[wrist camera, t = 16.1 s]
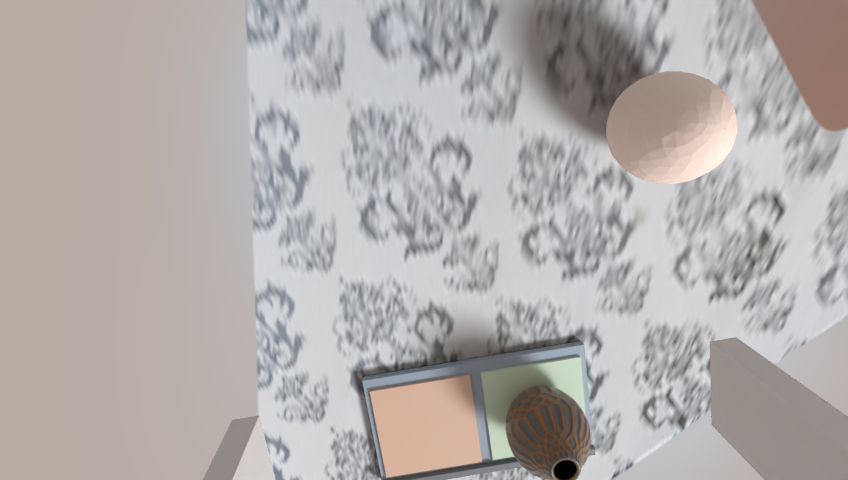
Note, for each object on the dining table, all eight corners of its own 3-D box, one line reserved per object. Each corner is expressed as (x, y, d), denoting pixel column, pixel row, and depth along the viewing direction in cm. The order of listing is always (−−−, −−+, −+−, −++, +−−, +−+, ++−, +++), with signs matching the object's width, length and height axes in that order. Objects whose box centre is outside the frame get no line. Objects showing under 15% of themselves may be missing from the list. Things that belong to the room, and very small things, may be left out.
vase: (519, 453, 52) (544, 524, 44) (485, 396, 50) (504, 457, 42) (586, 419, 51) (624, 484, 43) (554, 361, 50) (587, 415, 41)
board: (362, 376, 50) (361, 384, 49) (581, 340, 51) (586, 347, 49) (383, 479, 53) (382, 489, 52) (590, 445, 53) (595, 454, 52)
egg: (684, 165, 47) (773, 187, 36) (591, 179, 47) (651, 205, 36) (682, 67, 45) (775, 58, 34) (584, 81, 45) (646, 77, 34)
